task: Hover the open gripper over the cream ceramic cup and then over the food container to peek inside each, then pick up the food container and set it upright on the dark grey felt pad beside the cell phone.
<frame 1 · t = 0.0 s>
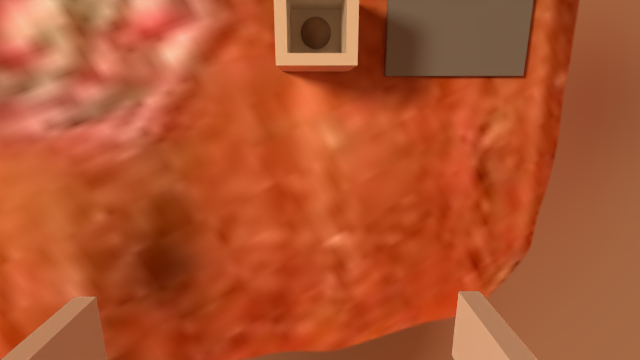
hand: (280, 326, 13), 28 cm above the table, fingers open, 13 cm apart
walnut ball: (315, 33, 34), point 2 cm above the table, touching cup
felt pad: (456, 26, 36), on the table
cup: (315, 36, 36), on the table
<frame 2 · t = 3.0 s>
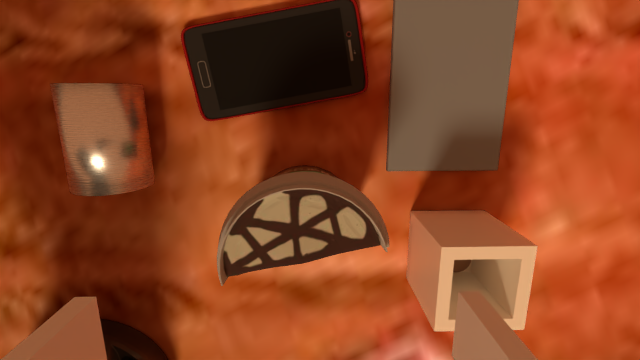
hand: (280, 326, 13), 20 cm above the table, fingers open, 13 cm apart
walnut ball: (453, 255, 31), point 2 cm above the table, touching cup
felt pad: (447, 84, 30), on the table
food container: (299, 185, 32), on the table
cell phone: (277, 62, 30), on the table
silver round cylinder: (126, 132, 30), on the table
cup: (444, 244, 33), on the table
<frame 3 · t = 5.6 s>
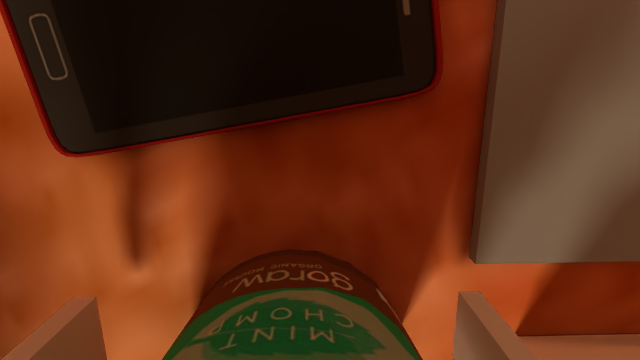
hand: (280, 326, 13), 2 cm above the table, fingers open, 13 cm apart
felt pad: (619, 74, 13), on the table
food container: (282, 288, 15), on the table, touching gripper
cell phone: (231, 21, 13), on the table
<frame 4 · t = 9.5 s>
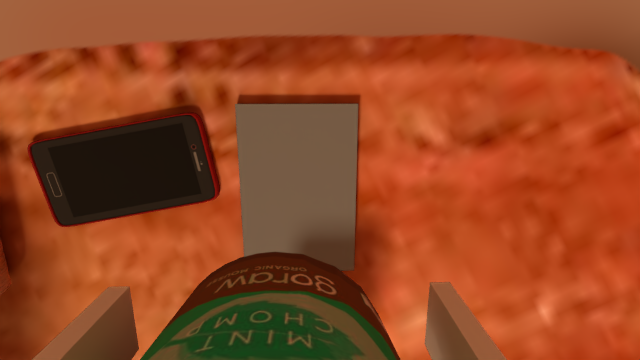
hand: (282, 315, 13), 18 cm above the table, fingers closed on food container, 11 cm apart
felt pad: (298, 190, 30), on the table
food container: (267, 290, 15), point 16 cm above the table, touching gripper
cell phone: (131, 169, 30), on the table
when the fingers open (4 cm above the table, at t = 13.0 s): food container drops 2 cm, resting on felt pad.
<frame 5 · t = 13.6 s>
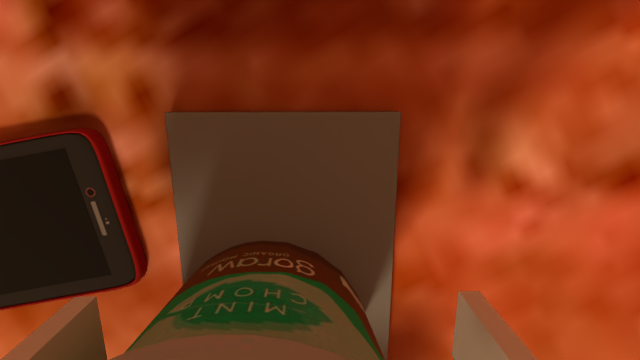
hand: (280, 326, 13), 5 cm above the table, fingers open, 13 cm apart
felt pad: (288, 266, 17), on the table
food container: (257, 276, 17), resting on felt pad
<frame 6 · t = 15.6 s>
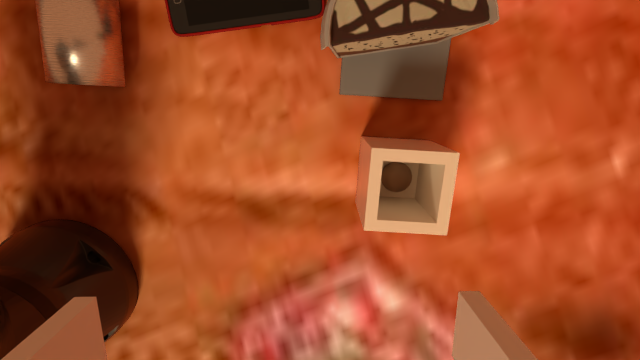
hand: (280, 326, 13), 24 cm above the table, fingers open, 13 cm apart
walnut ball: (396, 176, 34), point 2 cm above the table, touching cup
felt pad: (398, 15, 32), on the table
food container: (383, 16, 32), resting on felt pad
silver round cylinder: (104, 42, 33), on the table
cup: (391, 171, 36), on the table
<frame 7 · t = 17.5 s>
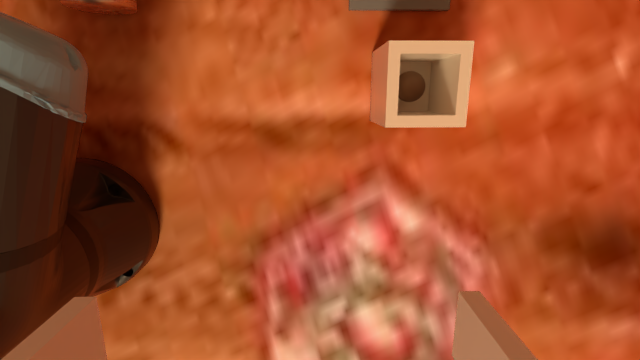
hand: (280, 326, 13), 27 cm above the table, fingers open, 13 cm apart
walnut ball: (409, 86, 34), point 2 cm above the table, touching cup
cup: (403, 87, 37), on the table
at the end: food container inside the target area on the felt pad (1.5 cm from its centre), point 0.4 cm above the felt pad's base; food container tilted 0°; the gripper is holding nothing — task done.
